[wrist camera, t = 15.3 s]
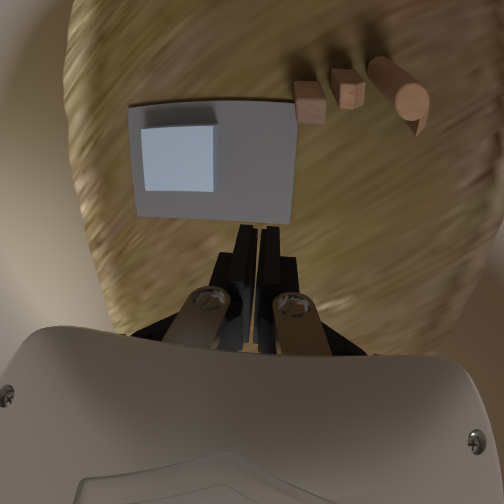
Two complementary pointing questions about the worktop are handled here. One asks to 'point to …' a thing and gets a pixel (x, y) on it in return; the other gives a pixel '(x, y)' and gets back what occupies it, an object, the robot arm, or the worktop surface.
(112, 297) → the worktop surface
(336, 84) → the wooden block set
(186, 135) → the slab
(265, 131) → the mat
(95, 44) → the worktop surface
